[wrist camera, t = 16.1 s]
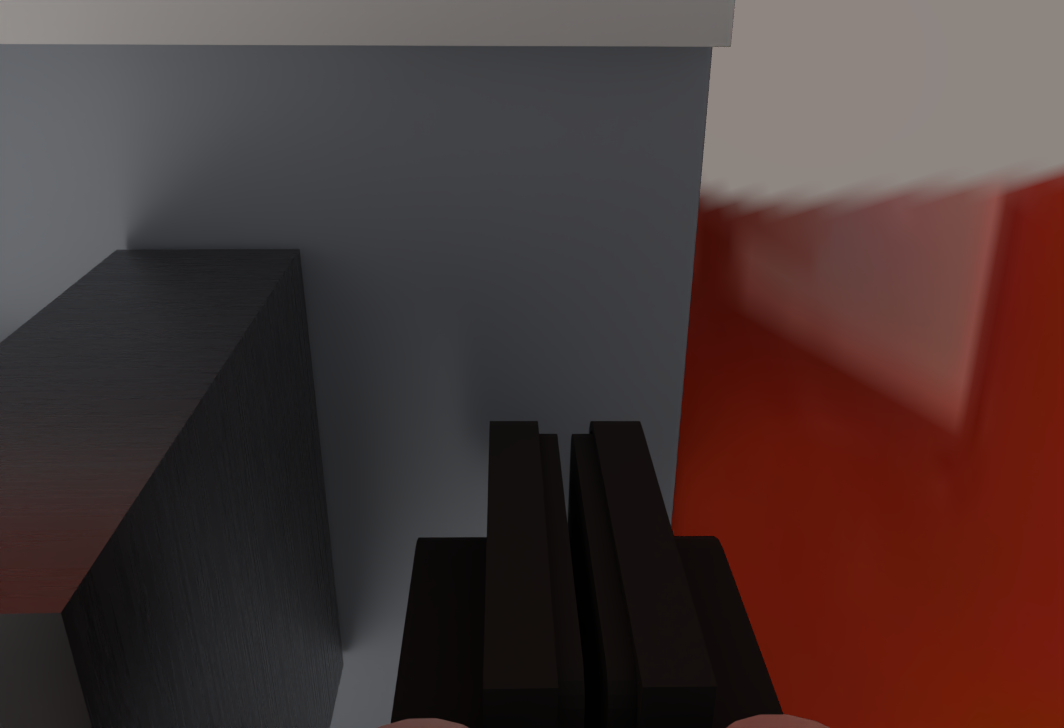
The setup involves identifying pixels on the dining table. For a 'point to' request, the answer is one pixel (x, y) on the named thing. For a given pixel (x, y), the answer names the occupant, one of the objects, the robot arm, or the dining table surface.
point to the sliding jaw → (166, 501)
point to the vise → (389, 225)
